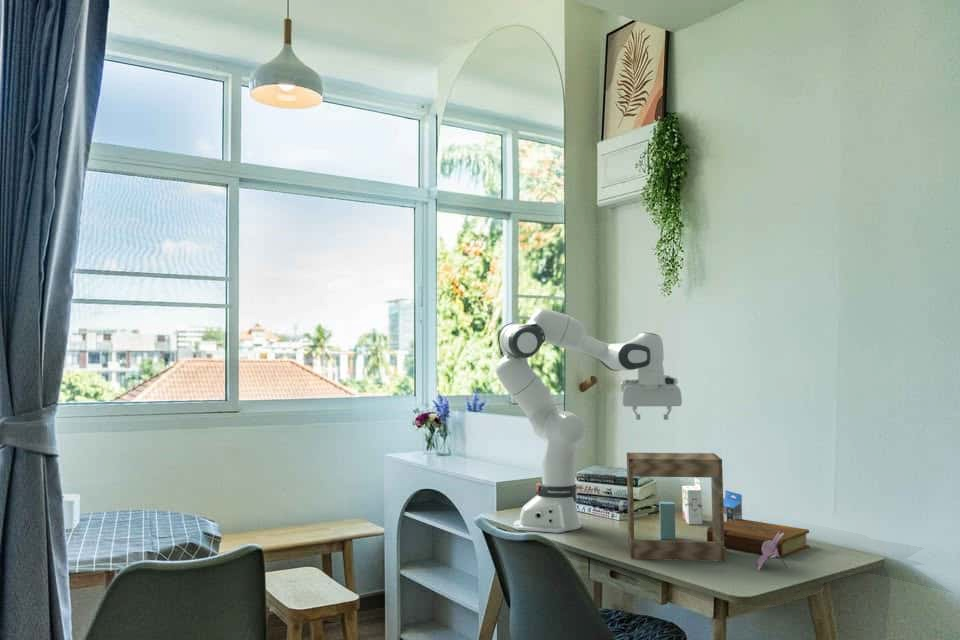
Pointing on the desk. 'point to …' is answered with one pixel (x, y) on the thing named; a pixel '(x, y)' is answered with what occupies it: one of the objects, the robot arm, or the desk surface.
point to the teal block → (667, 520)
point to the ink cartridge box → (692, 503)
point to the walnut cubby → (678, 468)
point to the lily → (770, 550)
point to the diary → (761, 537)
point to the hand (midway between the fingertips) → (652, 419)
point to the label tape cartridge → (732, 506)
